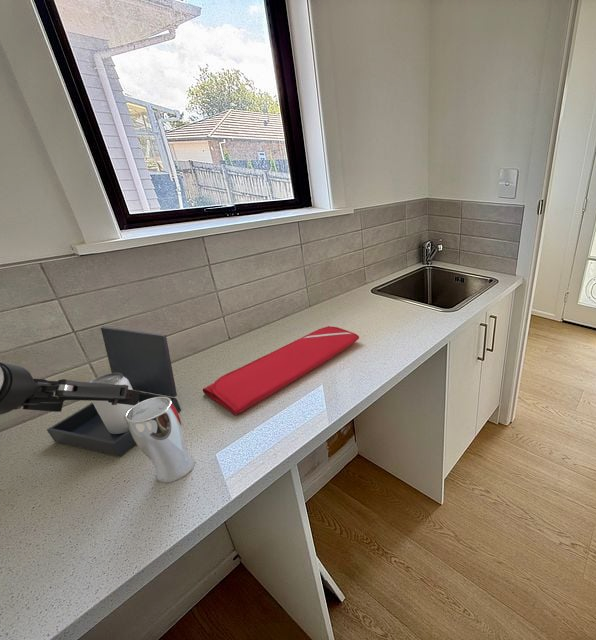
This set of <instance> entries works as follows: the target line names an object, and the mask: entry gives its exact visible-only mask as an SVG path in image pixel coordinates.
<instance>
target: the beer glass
mask: <svg viewBox="0 0 596 640" xmlns="http://www.w3.org/2000/svg"><path fill="white" fill-rule="evenodd" d="M168 397H169V396H167V397H154V398H150V399H147V400H144V401H142V402H140V403H138V404H136V405H134V406H133V407H131V408H130V409H129V410H128V411H127V412H126V414H125V420H126V422H127V425H128V428H129V431H130V433H131V435H132V438H133V439H134V441H135V443H136V444H137V445H136V446H137V447H138V448H139V449H140V451H141V452H142V453H143V454H144V455H145V456H146V457H147V458H148V459H149V460H150V461H151V463H152V464H153V466H154V470H155V476H156V479H157V481H159V482H161V483H172V482H175V481H178V480H181V479H182V478H184V477H185V476H187V475H188V474H189V473H190V472H191V471H192V469H193V468H194V467H195V464H196V459H195V458H194V457H193V455H192V454H191V453H190V451H189V450H188V448H187V445H186V438H185V437H186V436H185V430H184V426H183V422H182V419H181V416H180V414H179V412H177V410H176V408H175V407H174V405H173V403H172V401H171V399H170V398H168Z"/></svg>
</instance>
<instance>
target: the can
mask: <svg viewBox="0 0 596 640" xmlns="http://www.w3.org/2000/svg"><path fill="white" fill-rule="evenodd" d="M89 382H90V383H103V384H116V385H128V389H129V390H133V389H132V387H131V385H130V383H129V381H128V379H127V378H125V377H123V374H121V373H111V372H110V373H106V374H103V375H100V376H97V377H96V378H94V379H92V380H91V381H89ZM91 403H93V405H94V406H95V408H96V410H97V412H98V414H99V415H100V417H101V419H102V421H103V423H104V424H105V426H106V428H107V430H108V431H109V432H110V433H112V434H124V433H126V432H128V431H129V428H128V425H127V422H126V420H125V414H126V412H127V411H128V410H129V409H130V408H131V407H133V406H134V405H127V404H118V403H117V405H111V404H112V403H110V402H108V401H91ZM138 403H139V401H138Z"/></svg>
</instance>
